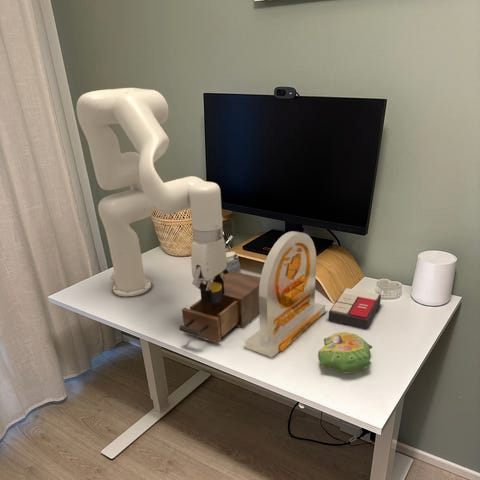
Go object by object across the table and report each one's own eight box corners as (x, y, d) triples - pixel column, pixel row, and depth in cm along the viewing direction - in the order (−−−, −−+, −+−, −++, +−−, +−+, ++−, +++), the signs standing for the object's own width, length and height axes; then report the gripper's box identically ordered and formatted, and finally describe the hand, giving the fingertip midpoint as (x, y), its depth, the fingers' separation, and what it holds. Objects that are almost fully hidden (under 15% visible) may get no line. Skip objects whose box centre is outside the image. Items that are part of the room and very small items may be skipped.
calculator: (328, 309, 127) (345, 285, 138) (327, 322, 129) (344, 297, 140) (367, 317, 122) (381, 292, 133) (366, 331, 124) (380, 304, 135)
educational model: (375, 346, 117) (377, 328, 114) (368, 384, 104) (370, 365, 101) (326, 339, 121) (327, 321, 118) (313, 374, 108) (314, 355, 105)
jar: (200, 301, 122) (198, 287, 120) (211, 293, 126) (210, 280, 124) (215, 305, 120) (214, 291, 118) (226, 297, 124) (225, 284, 122)
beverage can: (241, 292, 147) (240, 257, 141) (219, 291, 148) (217, 257, 142) (245, 283, 152) (243, 250, 146) (224, 282, 153) (221, 249, 147)
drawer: (207, 352, 116) (205, 328, 112) (173, 341, 121) (169, 317, 118) (245, 320, 129) (244, 297, 126) (212, 311, 135) (210, 289, 131)
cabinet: (242, 327, 128) (241, 299, 123) (206, 317, 134) (203, 289, 129) (267, 305, 138) (267, 278, 134) (232, 297, 144) (231, 270, 140)
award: (273, 358, 114) (272, 256, 100) (245, 347, 119) (241, 248, 105) (326, 312, 133) (332, 221, 119) (300, 304, 138) (302, 215, 124)
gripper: (215, 221, 122) (219, 282, 131) (174, 242, 109) (182, 308, 119) (238, 225, 118) (241, 288, 127) (200, 247, 106) (206, 314, 115)
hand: (213, 297), depth 123 cm, fingers closed on jar, 5 cm apart
